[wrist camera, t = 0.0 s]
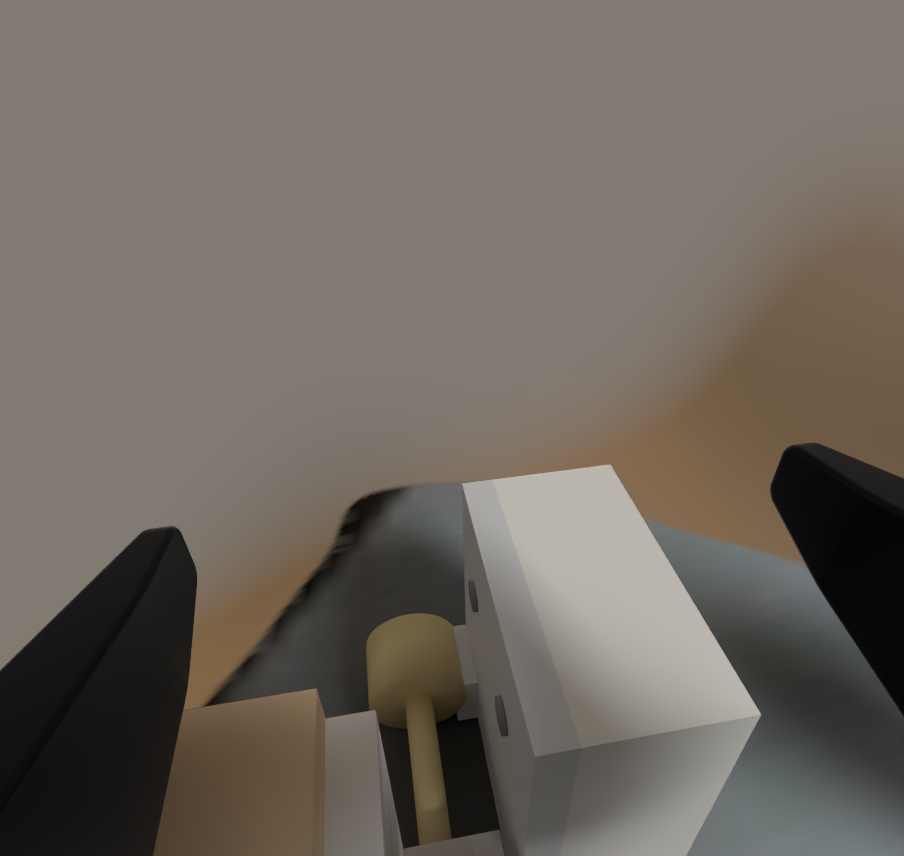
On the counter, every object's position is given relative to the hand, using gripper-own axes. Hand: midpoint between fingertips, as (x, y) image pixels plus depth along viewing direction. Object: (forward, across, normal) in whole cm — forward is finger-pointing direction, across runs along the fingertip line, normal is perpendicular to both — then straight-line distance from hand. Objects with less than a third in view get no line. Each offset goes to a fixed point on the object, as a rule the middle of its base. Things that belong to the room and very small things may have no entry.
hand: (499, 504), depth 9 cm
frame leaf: (+3, -1, +16) cm, 17 cm away
